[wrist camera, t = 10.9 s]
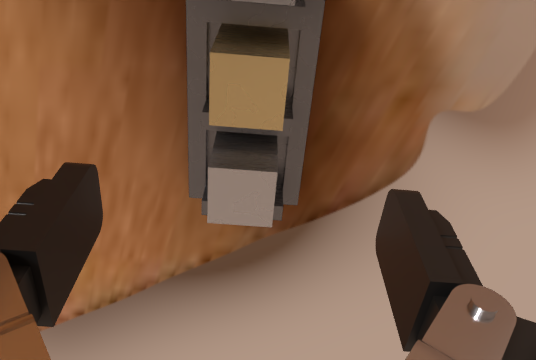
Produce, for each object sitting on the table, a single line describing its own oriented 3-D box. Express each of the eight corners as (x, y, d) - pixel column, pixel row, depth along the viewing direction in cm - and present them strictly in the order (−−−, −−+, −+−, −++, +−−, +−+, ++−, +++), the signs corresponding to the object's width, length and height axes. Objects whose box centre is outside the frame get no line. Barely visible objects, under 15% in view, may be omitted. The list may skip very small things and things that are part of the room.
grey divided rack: (192, 186, 36) (175, 244, 30) (188, -150, 24) (161, -161, 19) (296, 193, 36) (300, 252, 30) (340, -136, 25) (359, -142, 19)
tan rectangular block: (221, 22, 28) (209, 52, 23) (287, 27, 28) (290, 58, 23) (220, 85, 30) (209, 125, 25) (281, 90, 31) (282, 130, 25)
